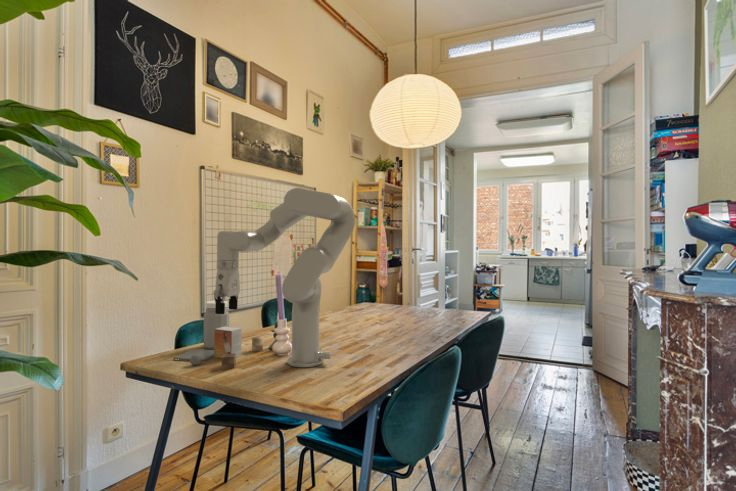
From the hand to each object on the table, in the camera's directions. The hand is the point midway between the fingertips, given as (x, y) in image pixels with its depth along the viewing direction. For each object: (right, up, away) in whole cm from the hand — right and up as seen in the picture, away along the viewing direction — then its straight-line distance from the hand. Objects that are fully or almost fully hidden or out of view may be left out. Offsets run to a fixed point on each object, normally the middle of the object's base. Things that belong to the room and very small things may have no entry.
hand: (226, 311), depth 149 cm
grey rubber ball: (-7, -17, -10) cm, 21 cm away
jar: (-9, -17, +15) cm, 24 cm away
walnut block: (+5, -17, -12) cm, 21 cm away
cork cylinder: (+9, -17, +9) cm, 21 cm away
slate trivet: (-11, -17, +1) cm, 20 cm away
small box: (0, -17, 0) cm, 17 cm away
